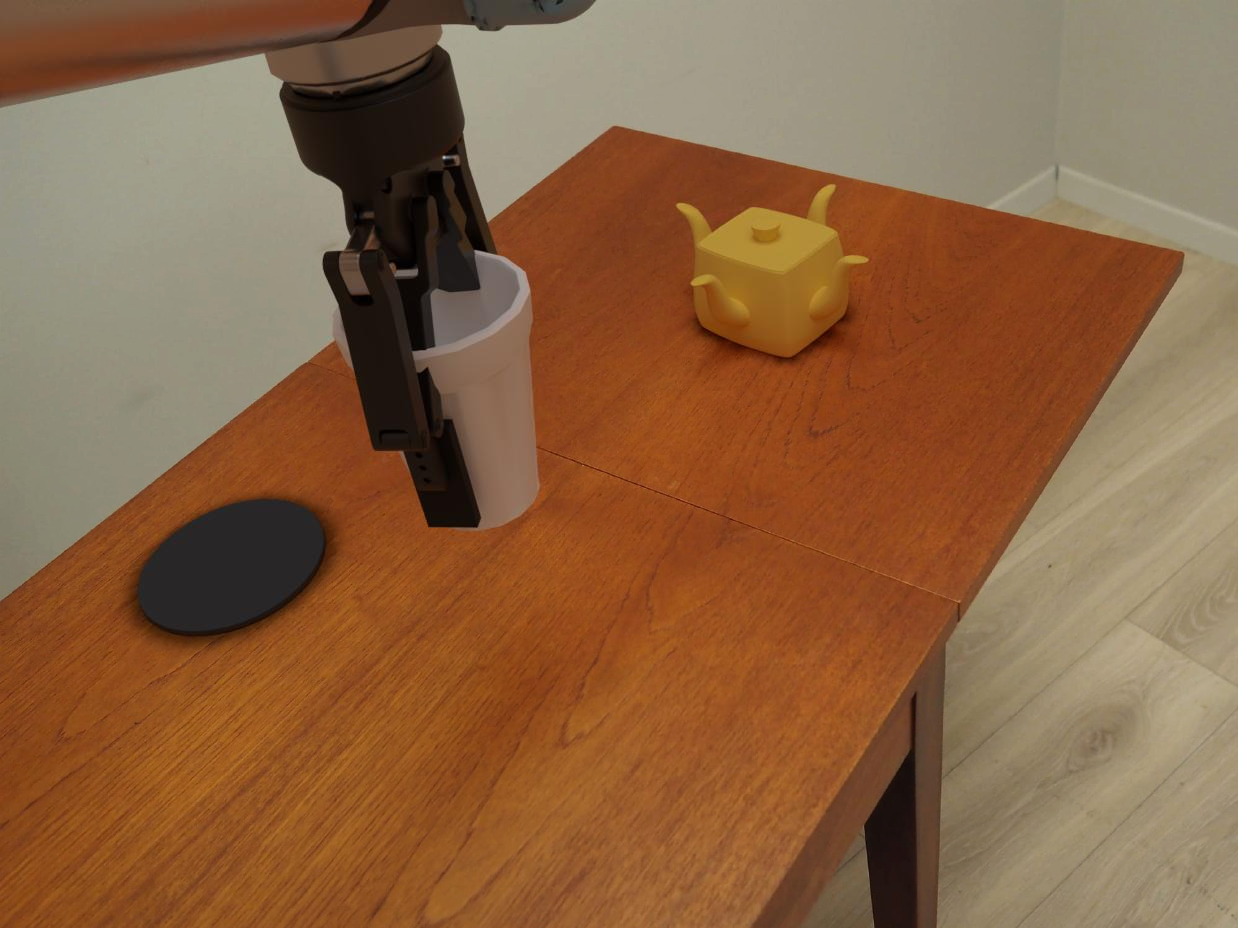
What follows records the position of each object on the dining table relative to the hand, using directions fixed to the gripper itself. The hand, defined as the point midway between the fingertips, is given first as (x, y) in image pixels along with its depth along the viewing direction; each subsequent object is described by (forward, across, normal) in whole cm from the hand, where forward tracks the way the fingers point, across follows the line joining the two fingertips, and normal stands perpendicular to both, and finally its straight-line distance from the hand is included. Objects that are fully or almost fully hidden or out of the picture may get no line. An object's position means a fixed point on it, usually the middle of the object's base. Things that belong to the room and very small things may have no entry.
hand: (476, 466), depth 64 cm
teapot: (+18, +41, -12) cm, 46 cm away
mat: (+17, +9, +26) cm, 32 cm away
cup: (+3, 0, 0) cm, 3 cm away
